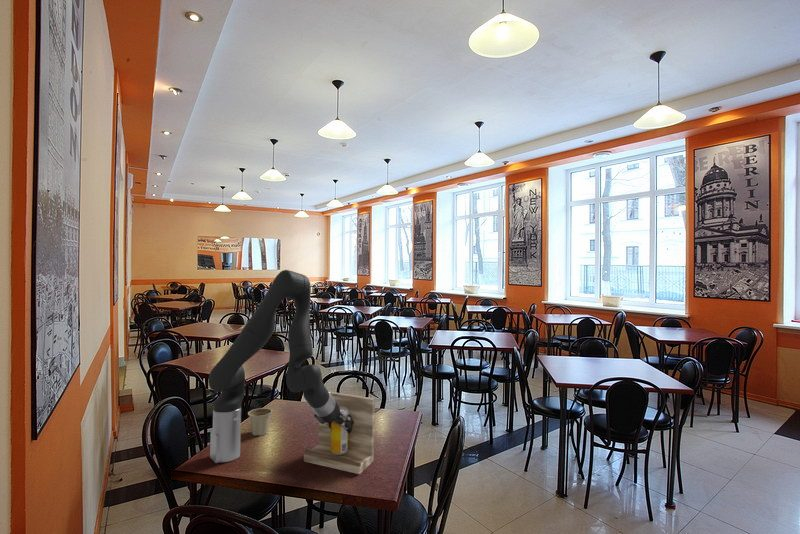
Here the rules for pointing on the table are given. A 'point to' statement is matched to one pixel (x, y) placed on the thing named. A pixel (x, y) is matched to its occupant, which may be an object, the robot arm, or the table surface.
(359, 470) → the wall board
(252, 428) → the flower pot
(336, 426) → the beer can
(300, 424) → the table surface
